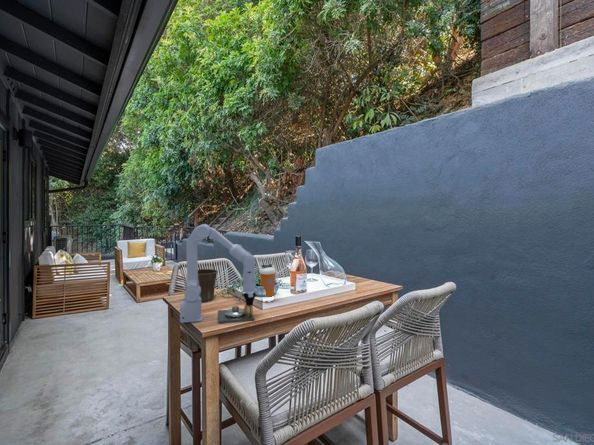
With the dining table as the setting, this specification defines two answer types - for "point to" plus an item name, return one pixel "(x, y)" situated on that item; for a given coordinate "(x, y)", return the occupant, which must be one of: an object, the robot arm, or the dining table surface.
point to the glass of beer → (268, 279)
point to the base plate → (232, 318)
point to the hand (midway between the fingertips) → (249, 308)
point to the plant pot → (207, 283)
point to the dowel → (248, 311)
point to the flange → (238, 311)
